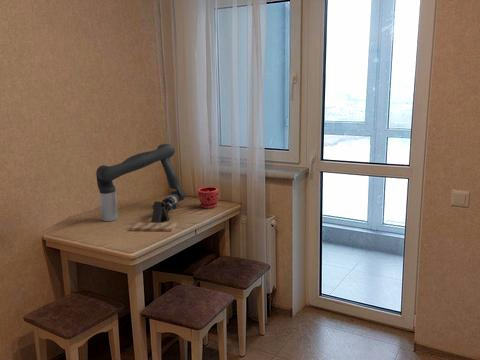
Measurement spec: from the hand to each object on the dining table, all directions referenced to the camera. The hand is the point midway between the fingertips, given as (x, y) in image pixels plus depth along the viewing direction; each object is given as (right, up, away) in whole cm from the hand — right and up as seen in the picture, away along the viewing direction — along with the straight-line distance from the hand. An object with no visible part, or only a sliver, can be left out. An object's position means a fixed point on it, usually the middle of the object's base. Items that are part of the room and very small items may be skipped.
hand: (161, 209), depth 251 cm
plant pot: (+26, 0, +27) cm, 38 cm away
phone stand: (0, -7, -2) cm, 7 cm away
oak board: (-2, -10, -13) cm, 16 cm away
